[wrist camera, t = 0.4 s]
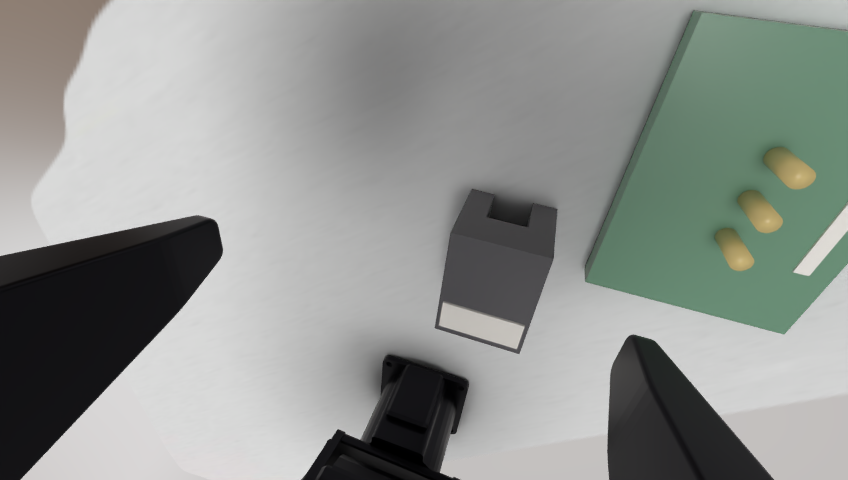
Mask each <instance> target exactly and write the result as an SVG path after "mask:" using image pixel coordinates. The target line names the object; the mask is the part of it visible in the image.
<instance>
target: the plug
mask: <svg viewBox="0 0 848 480" xmlns="http://www.w3.org/2000/svg"><path fill="white" fill-rule="evenodd" d="M493 199H494V194H491V193H486V192H482V191H478V190H474V189H472V190H471V192H470V194H469V196H468V198H467V200H466V202H465V204H464V206H463V208H462V210H461V213H460V215H459V217H458V219H457V221H456V223H455V225H454V227H453V229H452V231H451V234H450V240H449V246H448V252H447V258H446V264H445V270H444V276H443V282H442V288H441V294H440V300H439V306H438V312H437V318H436V324H435V328H436V329H439V330H443V331H446V332H449V333H452V334H456V335H459V336H462V337H465V338H469V339H472V340H475V341H478V342H482V343H485V344H488V345H491V346H495V347H498V348H501V349H504V350H508V351H511V352H514V353H517V354H519V353H520V351H521V348H522V345H523V342H524V339H525V337H526V334H527V331H528V328H529V326H530V323H531V320H532V317H533V314H534V312H535V309H536V306H537V303H538V300H539V298H540V295H541V292H542V289H543V287H544V284H545V281H546V278H547V275H548V273H549V270H550V267H551V264H552V261H553V258H554V245H555V232H556V219H557V209H555V208H551V207H547V206H542V205H538V204H534V203H533V206H532V210H531V213H530V216H529V220H528V223H527V227H524V226H520V225H516V224H512V223H508V222H504V221H500V220H496V219H492V218H489V216H490V212H491V208H492V203H493Z"/></svg>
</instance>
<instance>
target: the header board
mask: <svg viewBox="0 0 848 480" xmlns="http://www.w3.org/2000/svg"><path fill="white" fill-rule="evenodd" d="M847 264H848V31H847V30H839V29H832V28H824V27H816V26H809V25H801V24H793V23H786V22H778V21H770V20H763V19H755V18H747V17H740V16H732V15H725V14H717V13H709V12H702V11H693V13H692V16H691V18H690V20H689V23H688V25H687V28H686V30H685V32H684V35H683V37H682V39H681V42H680V44H679V47H678V49H677V51H676V54H675V56H674V58H673V61H672V63H671V65H670V68H669V70H668V73H667V75H666V77H665V80H664V82H663V84H662V87H661V89H660V91H659V94H658V96H657V99H656V101H655V103H654V106H653V108H652V110H651V113H650V115H649V118H648V120H647V122H646V125H645V127H644V129H643V132H642V134H641V136H640V139H639V141H638V144H637V146H636V148H635V151H634V153H633V155H632V158H631V160H630V162H629V165H628V167H627V170H626V172H625V174H624V177H623V179H622V181H621V184H620V186H619V189H618V191H617V193H616V196H615V198H614V200H613V203H612V205H611V207H610V210H609V212H608V215H607V217H606V219H605V222H604V224H603V226H602V229H601V231H600V233H599V236H598V238H597V241H596V243H595V245H594V248H593V250H592V252H591V255H590V257H589V260H588V262H587V264H586V267H585V282H588V283H591V284H595V285H599V286H603V287H607V288H610V289H614V290H618V291H622V292H626V293H629V294H633V295H637V296H641V297H644V298H648V299H652V300H656V301H660V302H663V303H667V304H671V305H675V306H679V307H682V308H686V309H690V310H694V311H697V312H701V313H705V314H709V315H713V316H716V317H720V318H724V319H728V320H732V321H735V322H739V323H743V324H747V325H750V326H754V327H758V328H762V329H766V330H769V331H773V332H777V333H781V334H785V333H786V332H787V331H788V330H789V328H790V327H791V326H792V325H793V324H794V323H795V322H796V321H797V320H798V318H799V317H800V316H801V315H802V314H803V313H804V312H805V311H806V310H807V308H808V307H809V306H810V305H811V304H812V303H813V302H814V301H815V299H816V298H817V297H818V296H819V295H820V294H821V293H822V292H823V291H824V289H825V288H826V287H827V286H828V285H829V284H830V283H831V282H832V280H833V279H834V278H835V277H836V276H837V275H838V274H839V273H840V272H841V270H842V269H843V268H844V267H845V266H846V265H847Z"/></svg>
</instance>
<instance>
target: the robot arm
mask: <svg viewBox="0 0 848 480" xmlns="http://www.w3.org/2000/svg"><path fill="white" fill-rule="evenodd" d="M222 253H223V247H222V242H221V237H220V233H219V228H218V224H217V223H216V221H215V220H213V219H211V218H207V217H204V216H199V215H196V216H191V217H186V218H181V219H176V220H171V221H167V222H162V223H157V224H152V225H147V226H142V227H138V228H133V229H128V230H123V231H118V232H114V233H109V234H104V235H99V236H94V237H90V238H85V239H80V240H75V241H70V242H65V243H61V244H56V245H51V246H47V247H42V248H37V249H32V250H27V251H22V252H17V253H13V254H8V255H3V256H0V480H20V479H21V478H22V477H23V476H24V475H25V474H26V473H27V472H28V471H29V470H30V469H31V468H32V467H33V466H34V465H35V464H36V463H37V461H38V460H39V459H40V458H41V457H42V456H43V455H44V454H45V453H46V452H47V451H48V450H49V449H50V448H51V447H52V446H53V445H54V443H55V442H56V441H57V440H58V439H59V438H60V437H61V436H62V435H63V434H64V433H65V432H66V431H67V430H68V429H69V428H70V427H71V426H72V424H73V423H74V422H75V421H76V420H77V419H78V418H79V417H80V416H81V415H82V414H83V413H84V412H85V411H86V410H87V409H88V407H89V406H90V405H91V404H92V403H93V402H94V401H95V400H96V399H97V398H98V397H99V396H100V395H101V394H102V393H103V392H104V391H105V389H106V388H107V387H108V386H109V385H110V384H111V383H112V382H113V381H114V380H115V379H116V378H117V377H118V376H119V375H120V374H121V373H122V372H123V371H124V369H125V368H126V367H127V366H128V365H129V364H130V363H131V362H132V361H133V360H134V359H135V358H136V357H137V356H138V355H139V354H140V353H141V351H142V350H143V349H144V348H145V347H146V346H147V345H148V344H149V343H150V342H151V341H152V340H153V339H154V338H155V337H156V336H157V335H158V333H159V332H160V331H161V330H162V329H163V328H164V327H165V326H166V325H167V324H168V323H169V322H170V321H171V320H172V319H173V318H174V316H175V315H176V314H177V313H178V312H179V311H180V310H181V309H182V307H183V306H184V305H185V304H186V302H187V301H188V300H189V299H190V297H191V296H192V295H193V294H194V292H195V291H196V290H197V288H198V287H199V286H200V285H201V283H202V282H203V281H204V279H205V278H206V277H207V276H208V274H209V273H210V272H211V270H212V269H213V268H214V267H215V265H216V264H217V263H218V261H219V260H220V259H221V256H222ZM468 387H469V384H468V382H467V381H465V380H463V379H460V378H457V377H454V376H451V375H448V374H445V373H442V372H439V371H436V370H433V369H430V368H427V367H424V366H421V365H418V364H415V363H412V362H409V361H406V360H402V359H399V358H396V357H393V356H386V357H385V359H384V361H383V369H382V384H381V397H380V399H379V401H378V403H377V405H376V408H375V410H374V412H373V414H372V416H371V418H370V421H369V423H368V425H367V427H366V429H365V431H364V433H363V436H362V438H361V440H359V439H357V438H354V437H352V436H349V435H347V434H345V432H344V431H341V430H339V429H338V430H337V431H336V433H335V434H334V436H333V437H332V439H329V440H328V441H327V443H326V445H325V446H324V448H323V449H322V451H321V452H320V454H319V455H318V457H317V459H316V460H315V462H314V463H313V465H312V466H311V468H310V469H309V471H308V472H307V474H306V475H305V476H304V477H303V478H302V479H301V480H460V479H458V478H455V477H453V478H451V477H449V476H446V475H444V474H441V473H440V469H441V466H442V462H443V458H444V455H445V451H446V447H447V444H448V440H449V436H450V434H455V433H456V432H457V428H458V424H459V421H460V417H461V413H462V409H463V406H464V402H465V398H466V395H467V391H468ZM607 453H608V470H609V480H774V479H773V478H772V477H771V475H770V474H769V473H768V472H767V471H766V470H765V468H764V467H763V466H762V465H761V464H760V463H759V462H758V460H757V459H756V458H755V457H754V456H753V455H752V453H751V452H750V451H749V450H748V449H747V447H745V445H744V444H743V443H742V442H741V441H740V439H739V438H738V437H737V436H736V435H735V434H734V432H733V431H732V430H731V429H730V428H729V427H728V426H727V424H726V423H725V422H724V421H723V420H722V418H721V417H720V416H719V415H718V414H717V413H716V411H715V410H714V409H713V408H712V407H711V406H710V404H709V403H708V402H707V401H706V400H705V399H704V397H703V396H702V395H701V394H700V393H699V392H698V390H697V389H696V388H695V387H694V386H693V385H692V383H691V382H690V381H689V380H688V379H687V378H686V376H685V375H684V374H683V373H682V372H681V371H680V369H679V368H678V367H677V366H676V365H675V364H674V362H673V361H672V360H671V359H670V358H669V357H668V355H667V354H666V353H665V352H664V351H663V350H662V348H661V347H660V346H659V345H658V344H657V343H656V342H655V341H654V340H651V339H648V338H644V337H641V336H637V335H630V336H629V337H628V338H627V339H626V340H625V342H624V344H623V346H622V348H621V350H620V352H619V353H618V355H617V357H616V359H615V361H614V363H613V365H612V369H611V375H610V396H609V420H608V450H607Z"/></svg>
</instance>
